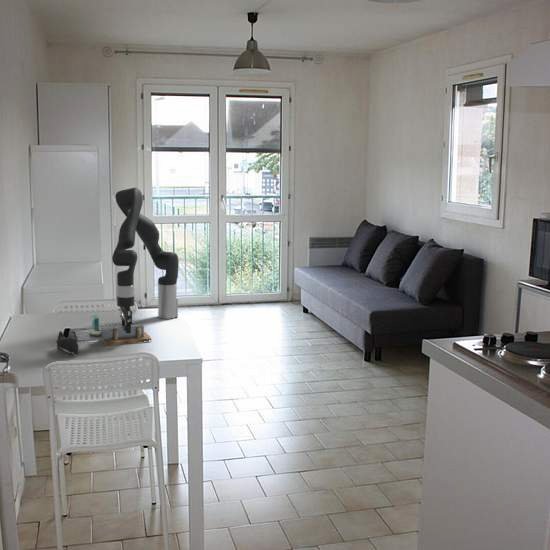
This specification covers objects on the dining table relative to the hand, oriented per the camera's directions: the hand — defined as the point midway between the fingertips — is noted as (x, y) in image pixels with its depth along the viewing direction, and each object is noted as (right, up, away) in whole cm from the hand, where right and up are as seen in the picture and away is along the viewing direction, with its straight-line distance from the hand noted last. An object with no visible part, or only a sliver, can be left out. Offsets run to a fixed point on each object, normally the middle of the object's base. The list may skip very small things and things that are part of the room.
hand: (126, 330), depth 313 cm
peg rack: (0, -4, +1) cm, 5 cm away
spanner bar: (-2, -3, 0) cm, 3 cm away
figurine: (-20, -8, -19) cm, 29 cm away
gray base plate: (-17, -2, +9) cm, 20 cm away
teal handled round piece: (-16, -1, +12) cm, 20 cm away
